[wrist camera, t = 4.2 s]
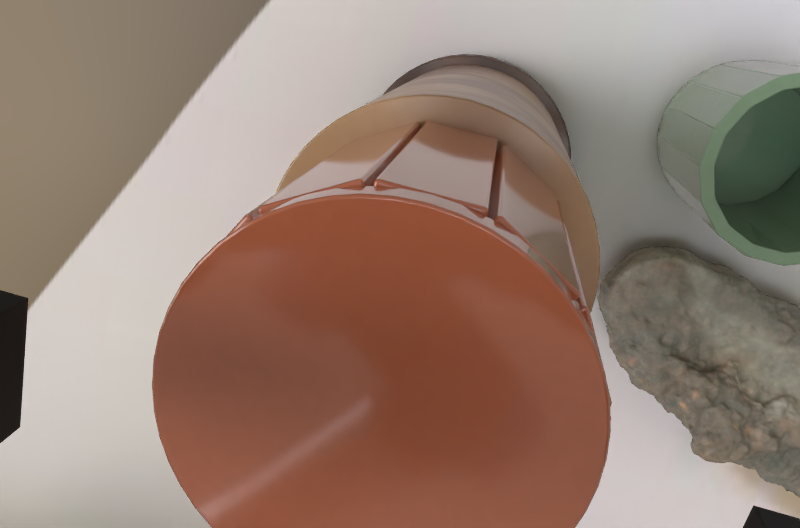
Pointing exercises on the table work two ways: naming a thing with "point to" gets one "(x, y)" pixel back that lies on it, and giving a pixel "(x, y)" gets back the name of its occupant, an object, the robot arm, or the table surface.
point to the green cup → (739, 155)
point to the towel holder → (484, 114)
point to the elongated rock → (711, 356)
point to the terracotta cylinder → (389, 349)
